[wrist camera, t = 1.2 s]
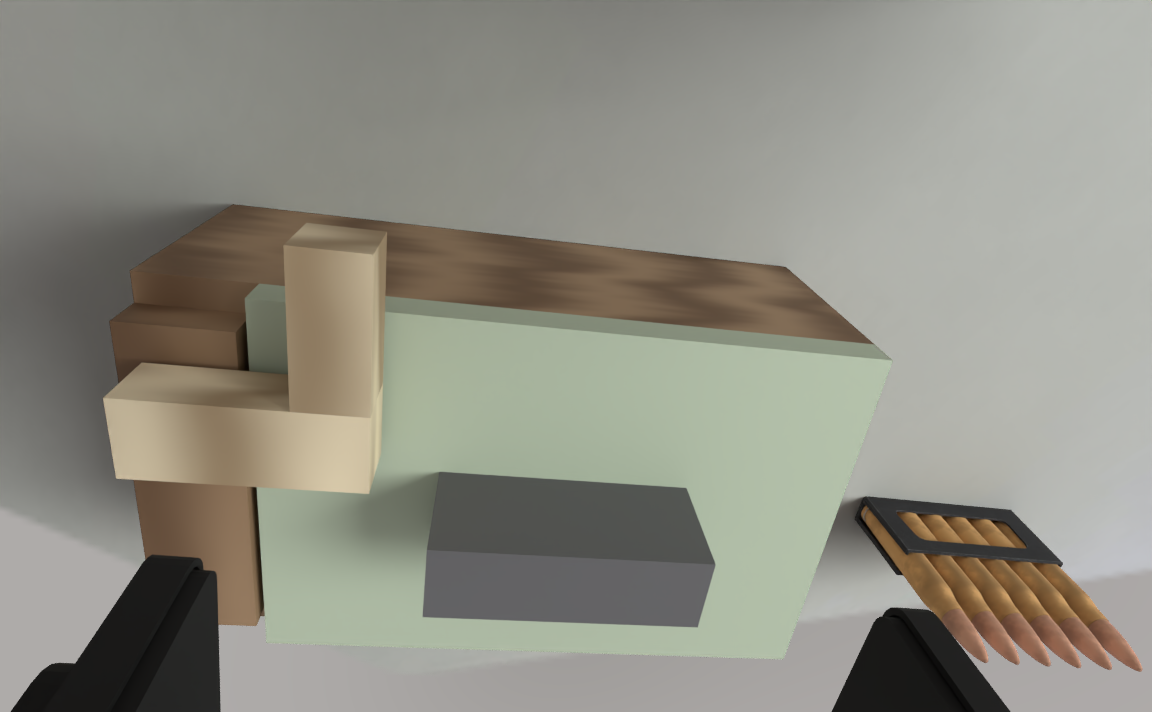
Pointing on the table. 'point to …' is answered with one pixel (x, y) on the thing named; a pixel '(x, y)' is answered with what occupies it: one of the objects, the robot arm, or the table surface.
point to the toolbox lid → (571, 486)
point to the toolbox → (417, 271)
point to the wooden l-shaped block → (274, 387)
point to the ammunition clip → (991, 581)
